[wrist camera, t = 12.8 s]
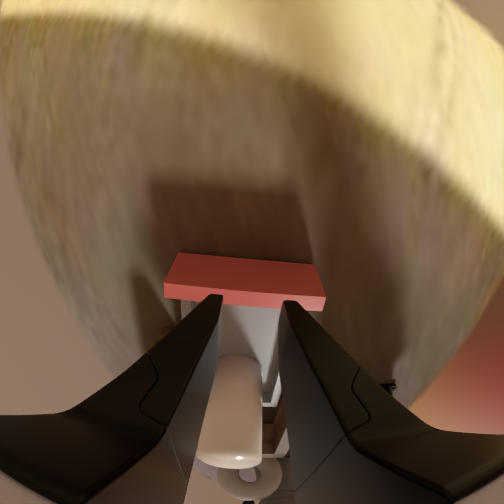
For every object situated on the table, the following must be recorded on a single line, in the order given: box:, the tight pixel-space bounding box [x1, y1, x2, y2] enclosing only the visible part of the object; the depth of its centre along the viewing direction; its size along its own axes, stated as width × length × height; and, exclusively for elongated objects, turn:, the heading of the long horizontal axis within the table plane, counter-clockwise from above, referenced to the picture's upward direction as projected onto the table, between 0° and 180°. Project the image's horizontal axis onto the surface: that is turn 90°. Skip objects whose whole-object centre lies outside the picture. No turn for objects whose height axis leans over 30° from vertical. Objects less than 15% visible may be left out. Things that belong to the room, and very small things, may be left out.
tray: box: [163, 252, 326, 407], centre depth 24 cm, size 11×17×4 cm, turn 174°
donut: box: [217, 458, 282, 501], centre depth 34 cm, size 10×4×10 cm, turn 85°
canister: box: [196, 355, 263, 469], centre depth 23 cm, size 5×5×10 cm
